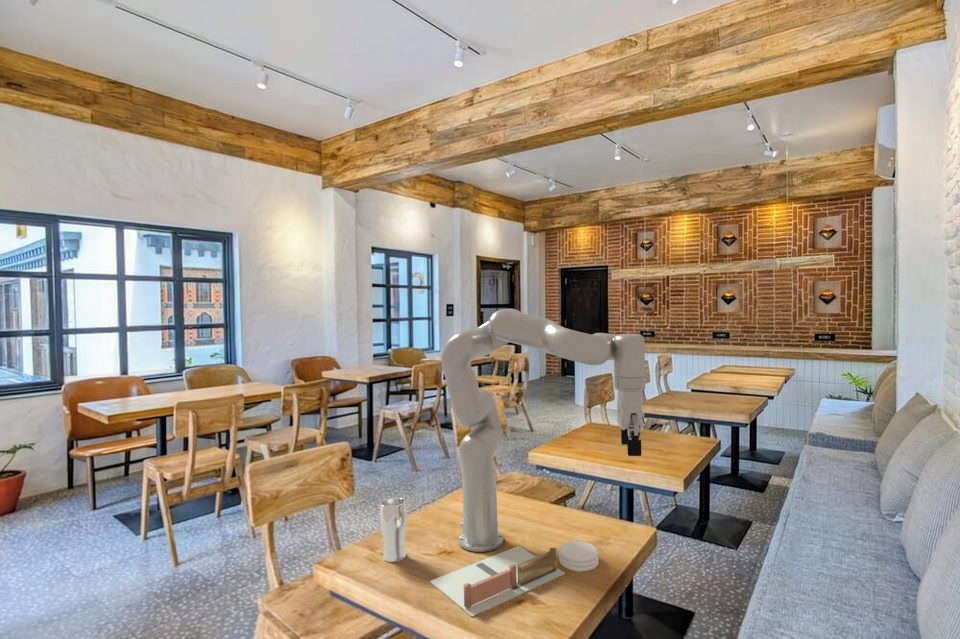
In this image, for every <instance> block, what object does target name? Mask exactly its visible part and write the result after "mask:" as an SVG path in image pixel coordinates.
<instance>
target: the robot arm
mask: <svg viewBox="0 0 960 639" xmlns="http://www.w3.org/2000/svg"><path fill="white" fill-rule="evenodd" d="M508 343H512V344H515V345H518V346H519V345H520V346H523V347H527V348H531V349H535V350H538V351H542V352H544V353H546V354H550V355H554V356H555V357H558V358H561V359H565V360H568V361H571V362H577V363H579V364H584V365H587V366H600V365H603V364H605V363H606V362H608V361H613V377H614V378H613V380H614V381H613V382H614V384H613V385H614V389H615V390H617V395H616V396H617V397H616V402H617V403H616V406H617V407H616V423H617V424H618V426H619V428H620V435H621V436H620V442H621V445H622V446H627V447H626V448H627V455H628V457H641V456H642V437H641V430H642V429H643V404H642V403H643V401H642V399H643V398H642V391H644V390H646V358H645V356H646V352H645V350H646V349H645V348H646V346H645V337H644V336H643V335H642V334H638V333H619V334H613V333H606V332H595V333H593V334H590V333H586V332H581V331H577V330H574V329H570V328H566V327H564V326H561V325H559V324H558V323H557V322H555V321H554V320H552V319H549V318H545V317H540V316H536V315H531V314H526V313H523V312H521V311H520V310H518V309H515V308H502V309H499V310H496V311H495V312H493V313H492V315H490V317H489V320H488V321H487V322H485V323H484V324H481V325H480V326H478V327H475V328H472V329H466V330H462V331H459V332H457V333H456V334H454V335H452V336H451V338H449V339H448V340H447V342H446V343H445V345H444V347H443V349H442V350H441V351H442V352H441V355H440V356H441V357H440V358H441V360H440V361H441V367H442V368H441V369H442V372H443V375H444V378H445V382H446V386H447V391H448V396H449V399H450V404H451V408H452V414H453V416H454V419H455V421H456V423H457V424H458V425H460V426H461V427H463V428H470V429H471V431H470V432H468V433H467V434H466V435H465V436H463V438H462V439H461V441H460V443H459V447H458V459H459V465H460V470H461V485H462V504H463V505H462V508H463V509H462V510H463V521H460V522H459V526H460V527H461V528H462V533H461V534H460V535H459V537H458V544H459V546H460V547H461V548H463V549H464V550H467V551H470V552H475V553H484V552H490V551H494V550H496V549H498V548H500V547H501V546H502V545H503V543H504V534H502V533H501V531H499V527H498V526H499V525H498V502H497V500H498V499H497V498H498V497H497V493H498V492H497V477H496V470H495V466H494V458H495V457H496V455H497V454H498V453H499V452H500V451H501V450H502V448H503V446H504V441H505V439H504V432H503V427H502V425H501V424H502V422H501V420H500V415H499V412H498V408H497V403H496V401H495V399H494V397H493V396H492V394H491V393H490V392H489V391H488V390H486V389H484V388H482V387H479V384H478V381H477V377H476V374H475V371H474V369H473V368H472V362H473V361H474V360H477V359H480V358H483V357H486V356H487V355H489V354H492V353H493V352H495V351H496V350H498V349H500V348H502V347H503V346H506V345H507V344H508Z"/></svg>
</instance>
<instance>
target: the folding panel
mask: <svg viewBox="0 0 960 639" xmlns="http://www.w3.org/2000/svg"><path fill="white" fill-rule="evenodd" d="M516 586H517V578H516V565H514V564H512V565H510V566H509V570H508V569H507V570H505V571H503V572H500V573H498V574H496V575H493V576H491V577H488V578H486V579H484V580H481V581H479V582H477V583H474V584H472V585H471V584H469V583H466V584H464V607H466V608H469V607H471V606H472V605H474V604H476V603H478V602H481V601H483V600H485V599H487V598H490V597H492V596H494V595H496V594H498V593H501V592H503V591H505V590H507V589H509V588H511V587H516Z"/></svg>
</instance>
